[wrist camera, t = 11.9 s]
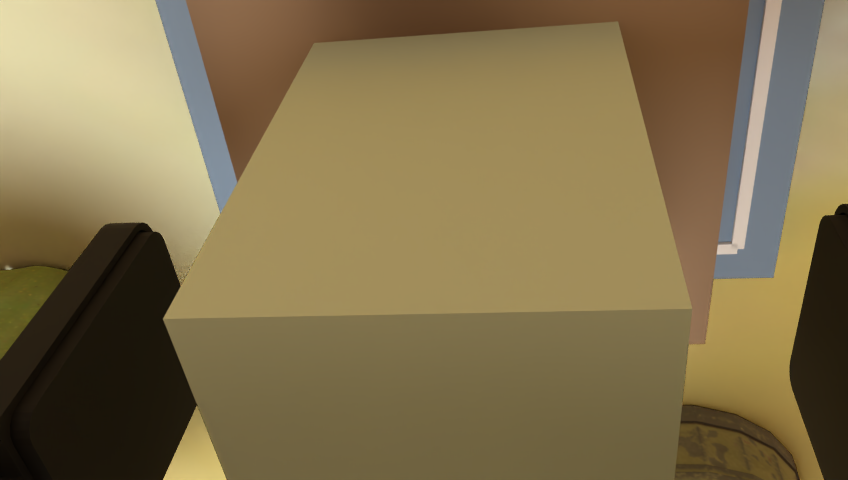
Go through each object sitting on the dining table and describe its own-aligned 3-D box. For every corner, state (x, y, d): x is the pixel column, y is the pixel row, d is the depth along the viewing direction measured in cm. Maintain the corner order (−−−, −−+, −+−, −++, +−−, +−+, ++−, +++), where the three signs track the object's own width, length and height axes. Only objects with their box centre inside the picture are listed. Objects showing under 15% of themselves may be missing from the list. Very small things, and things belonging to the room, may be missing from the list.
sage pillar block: (618, 21, 13) (691, 308, 7) (610, 269, 16) (660, 614, 10) (314, 42, 13) (162, 319, 8) (360, 275, 16) (274, 600, 11)
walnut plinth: (712, -173, 15) (765, -126, 11) (675, 232, 20) (705, 343, 16) (238, -127, 16) (164, -72, 13) (320, 242, 21) (284, 347, 18)
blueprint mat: (857, -292, 14) (880, -288, 13) (764, 253, 21) (774, 280, 20) (116, -205, 16) (92, -198, 15) (253, 266, 23) (242, 290, 22)
